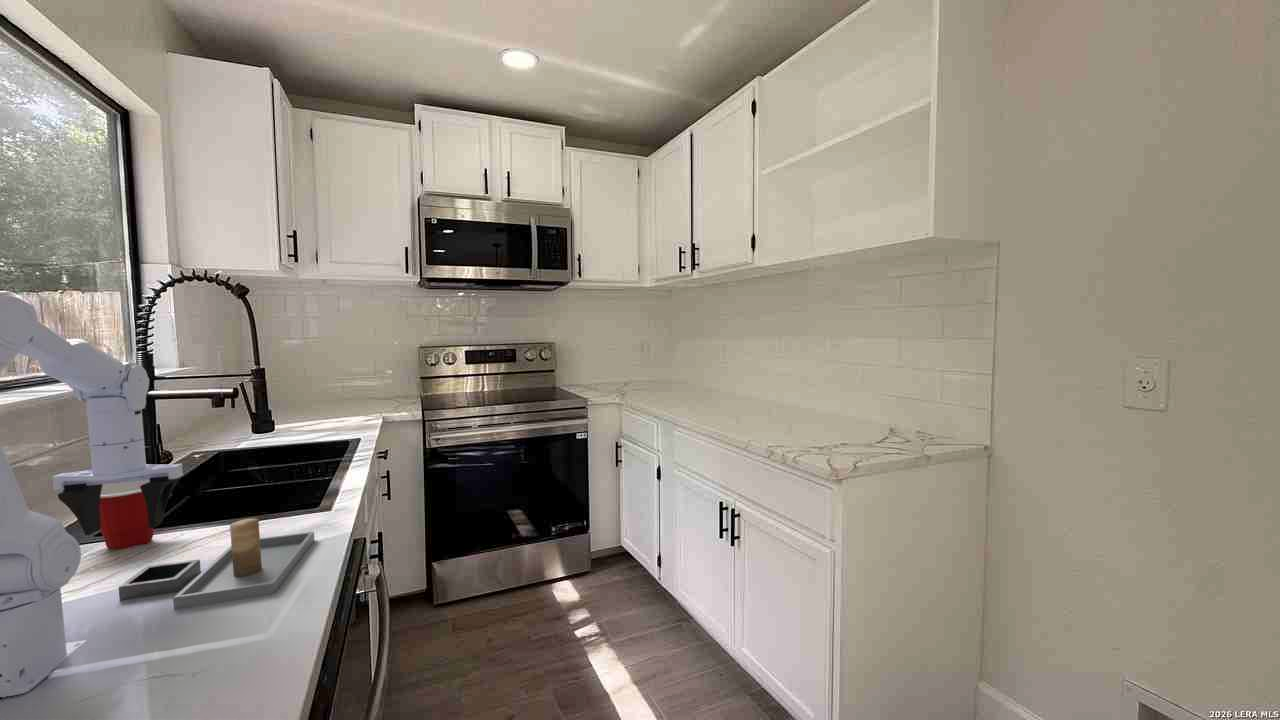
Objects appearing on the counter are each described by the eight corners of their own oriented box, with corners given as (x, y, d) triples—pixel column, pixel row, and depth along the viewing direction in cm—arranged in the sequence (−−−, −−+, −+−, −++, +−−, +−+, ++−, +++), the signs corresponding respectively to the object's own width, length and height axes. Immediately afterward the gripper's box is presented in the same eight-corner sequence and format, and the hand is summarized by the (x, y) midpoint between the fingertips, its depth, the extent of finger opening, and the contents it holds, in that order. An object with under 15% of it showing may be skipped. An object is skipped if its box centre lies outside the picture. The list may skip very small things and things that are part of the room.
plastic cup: (86, 565, 86) (80, 496, 85) (88, 546, 94) (82, 483, 93) (172, 544, 94) (168, 481, 93) (167, 529, 102) (163, 470, 101)
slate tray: (274, 597, 75) (273, 583, 75) (174, 613, 71) (173, 597, 71) (314, 543, 94) (313, 531, 94) (237, 553, 90) (236, 541, 90)
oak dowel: (256, 574, 80) (253, 524, 80) (229, 578, 79) (225, 528, 79) (265, 564, 84) (262, 517, 83) (239, 568, 82) (235, 520, 82)
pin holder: (177, 595, 76) (176, 579, 75) (120, 604, 73) (118, 587, 73) (200, 574, 82) (199, 559, 82) (148, 582, 80) (147, 566, 80)
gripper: (190, 432, 83) (196, 513, 84) (75, 439, 78) (82, 525, 79) (165, 441, 76) (172, 529, 77) (37, 450, 71) (46, 543, 72)
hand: (124, 528), depth 77 cm, fingers open, 7 cm apart
